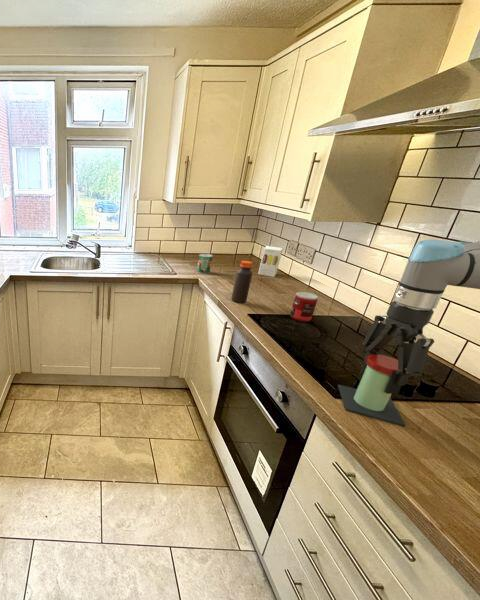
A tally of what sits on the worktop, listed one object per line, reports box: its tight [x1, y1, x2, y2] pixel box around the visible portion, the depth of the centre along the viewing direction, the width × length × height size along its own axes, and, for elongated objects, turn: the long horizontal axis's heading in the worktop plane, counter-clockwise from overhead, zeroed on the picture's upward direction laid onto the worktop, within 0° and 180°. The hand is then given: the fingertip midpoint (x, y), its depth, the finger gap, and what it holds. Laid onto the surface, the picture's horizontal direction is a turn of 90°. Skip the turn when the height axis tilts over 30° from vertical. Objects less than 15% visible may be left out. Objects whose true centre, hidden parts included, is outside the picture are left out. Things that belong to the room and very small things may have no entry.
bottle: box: [231, 260, 254, 304], centre depth 153 cm, size 7×7×20 cm
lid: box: [366, 353, 406, 376], centre depth 82 cm, size 8×8×2 cm
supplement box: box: [257, 245, 284, 278], centre depth 195 cm, size 10×9×17 cm
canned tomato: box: [196, 253, 213, 275], centre depth 200 cm, size 8×8×11 cm
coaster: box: [337, 384, 406, 427], centre depth 87 cm, size 12×12×1 cm
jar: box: [354, 365, 392, 411], centre depth 85 cm, size 7×7×12 cm
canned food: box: [289, 291, 319, 323], centre depth 137 cm, size 8×8×11 cm
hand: (377, 382), depth 85 cm, fingers closed on lid, 7 cm apart
